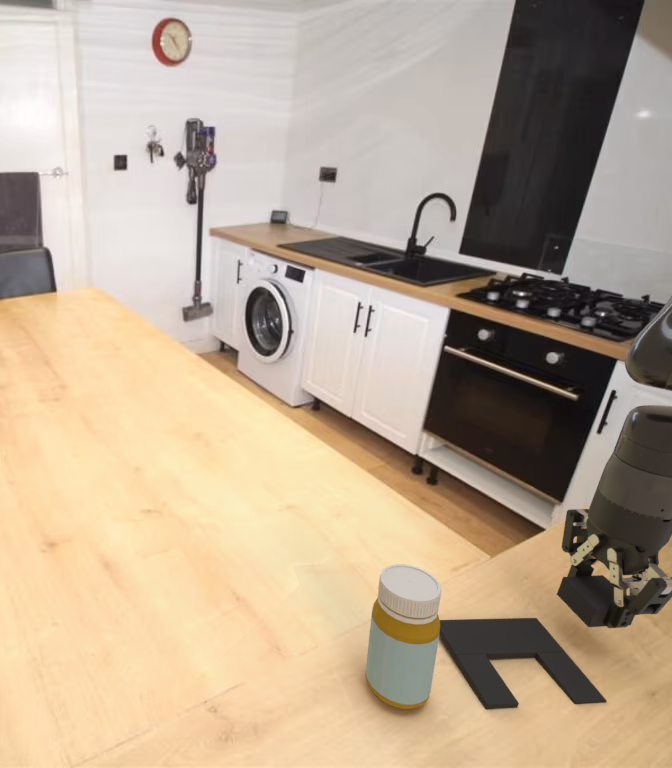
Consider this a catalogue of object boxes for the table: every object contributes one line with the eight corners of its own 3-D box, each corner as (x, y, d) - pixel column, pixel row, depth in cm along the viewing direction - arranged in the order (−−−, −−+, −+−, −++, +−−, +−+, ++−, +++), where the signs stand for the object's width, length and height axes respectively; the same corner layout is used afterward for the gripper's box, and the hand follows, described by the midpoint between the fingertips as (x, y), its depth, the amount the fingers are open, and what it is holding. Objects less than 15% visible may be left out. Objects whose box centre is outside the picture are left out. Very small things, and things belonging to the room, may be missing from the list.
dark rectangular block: (595, 592, 71) (603, 574, 70) (630, 625, 66) (638, 607, 65) (556, 594, 71) (563, 576, 70) (588, 627, 66) (596, 608, 65)
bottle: (380, 653, 69) (392, 553, 64) (438, 685, 64) (455, 580, 59) (354, 687, 64) (364, 583, 59) (414, 724, 59) (431, 614, 54)
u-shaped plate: (534, 623, 73) (536, 617, 73) (604, 707, 62) (607, 701, 62) (432, 625, 73) (434, 619, 72) (485, 710, 62) (487, 704, 61)
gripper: (561, 463, 68) (526, 568, 75) (665, 537, 55) (611, 656, 62) (618, 461, 69) (578, 566, 75) (734, 534, 55) (674, 653, 62)
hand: (593, 606), depth 68 cm, fingers closed on dark rectangular block, 5 cm apart
